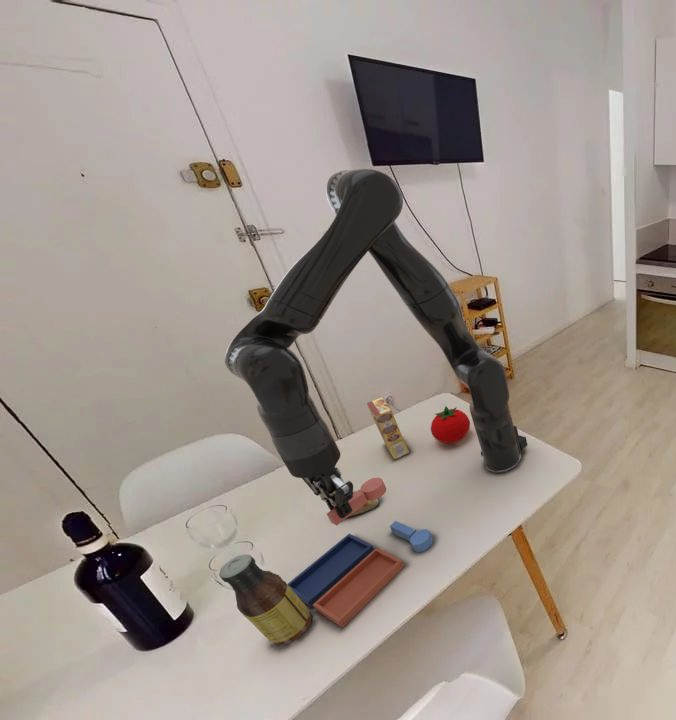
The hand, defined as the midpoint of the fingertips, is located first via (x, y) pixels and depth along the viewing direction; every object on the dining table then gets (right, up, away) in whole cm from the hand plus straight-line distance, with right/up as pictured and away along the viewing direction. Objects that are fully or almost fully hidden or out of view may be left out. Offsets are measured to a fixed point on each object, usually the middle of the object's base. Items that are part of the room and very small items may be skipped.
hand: (342, 512), depth 80 cm
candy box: (-12, +4, +38) cm, 40 cm away
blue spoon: (+8, -10, +11) cm, 17 cm away
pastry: (-10, -6, +20) cm, 23 cm away
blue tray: (-5, -14, +5) cm, 16 cm away
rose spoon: (+2, +1, +3) cm, 4 cm away
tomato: (+3, +6, +41) cm, 42 cm away
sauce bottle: (-5, -20, -5) cm, 21 cm away
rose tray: (+3, -16, +2) cm, 16 cm away
